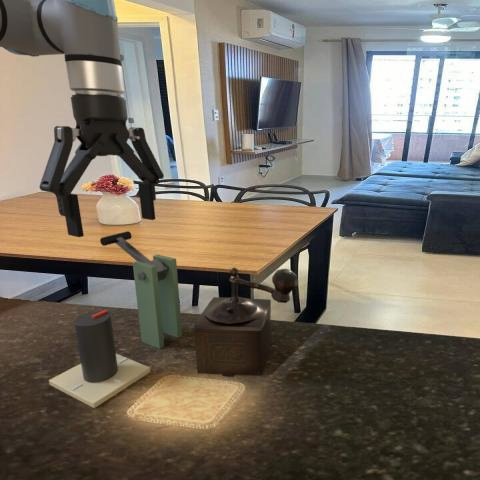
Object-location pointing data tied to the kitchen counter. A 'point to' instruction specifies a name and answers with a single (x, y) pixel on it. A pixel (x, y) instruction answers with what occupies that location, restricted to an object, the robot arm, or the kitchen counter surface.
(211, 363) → the coffee grinder
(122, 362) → the dial panel
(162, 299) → the green lever stand
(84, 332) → the cylinder
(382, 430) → the kitchen counter surface
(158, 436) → the kitchen counter surface
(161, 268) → the dark grey lever
